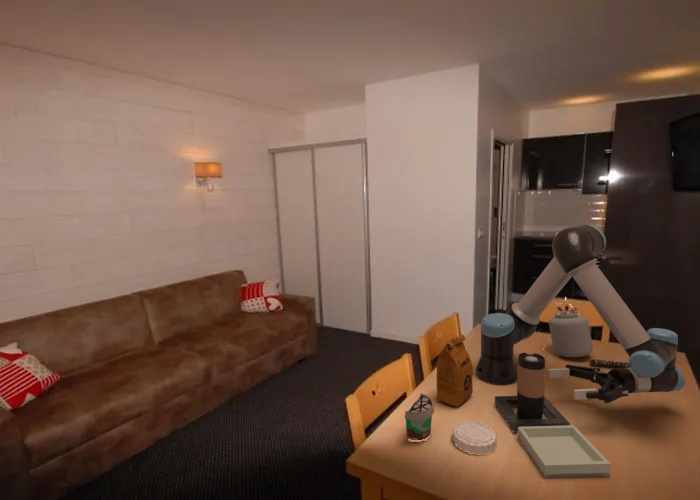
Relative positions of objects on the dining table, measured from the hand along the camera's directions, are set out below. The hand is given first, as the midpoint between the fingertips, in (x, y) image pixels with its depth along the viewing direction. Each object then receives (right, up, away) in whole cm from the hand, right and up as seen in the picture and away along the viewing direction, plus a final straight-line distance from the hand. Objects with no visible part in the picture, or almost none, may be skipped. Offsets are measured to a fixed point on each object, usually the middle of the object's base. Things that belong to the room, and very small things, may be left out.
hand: (560, 383), depth 120 cm
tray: (-9, -14, -16) cm, 23 cm away
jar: (+28, -4, +47) cm, 55 cm away
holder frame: (-9, -11, +1) cm, 14 cm away
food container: (-44, -14, -6) cm, 46 cm away
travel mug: (-9, -11, +1) cm, 15 cm away
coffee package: (-29, -10, +14) cm, 34 cm away
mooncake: (-30, -14, -9) cm, 34 cm away
